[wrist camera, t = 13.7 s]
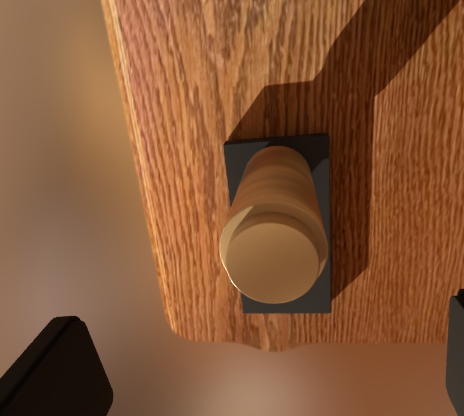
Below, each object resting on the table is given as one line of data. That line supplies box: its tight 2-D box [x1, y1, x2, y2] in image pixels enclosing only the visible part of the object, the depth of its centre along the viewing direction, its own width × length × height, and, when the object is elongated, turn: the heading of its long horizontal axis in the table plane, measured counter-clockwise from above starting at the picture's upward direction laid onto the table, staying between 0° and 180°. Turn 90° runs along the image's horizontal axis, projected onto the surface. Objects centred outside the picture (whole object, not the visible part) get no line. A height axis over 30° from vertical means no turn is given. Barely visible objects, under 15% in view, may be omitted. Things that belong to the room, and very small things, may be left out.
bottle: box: [219, 146, 328, 304], centre depth 19 cm, size 4×4×12 cm
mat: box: [223, 133, 331, 313], centre depth 27 cm, size 14×7×1 cm, turn 6°
